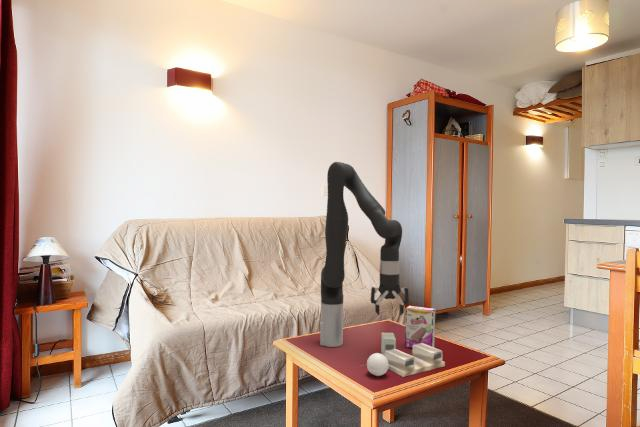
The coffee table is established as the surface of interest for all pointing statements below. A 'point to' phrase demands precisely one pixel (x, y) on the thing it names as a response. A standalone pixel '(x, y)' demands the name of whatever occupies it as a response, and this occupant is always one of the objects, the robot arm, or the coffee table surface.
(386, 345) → the block
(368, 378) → the coffee table surface
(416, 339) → the candy bar box
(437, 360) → the rail board
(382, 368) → the seamed sphere
